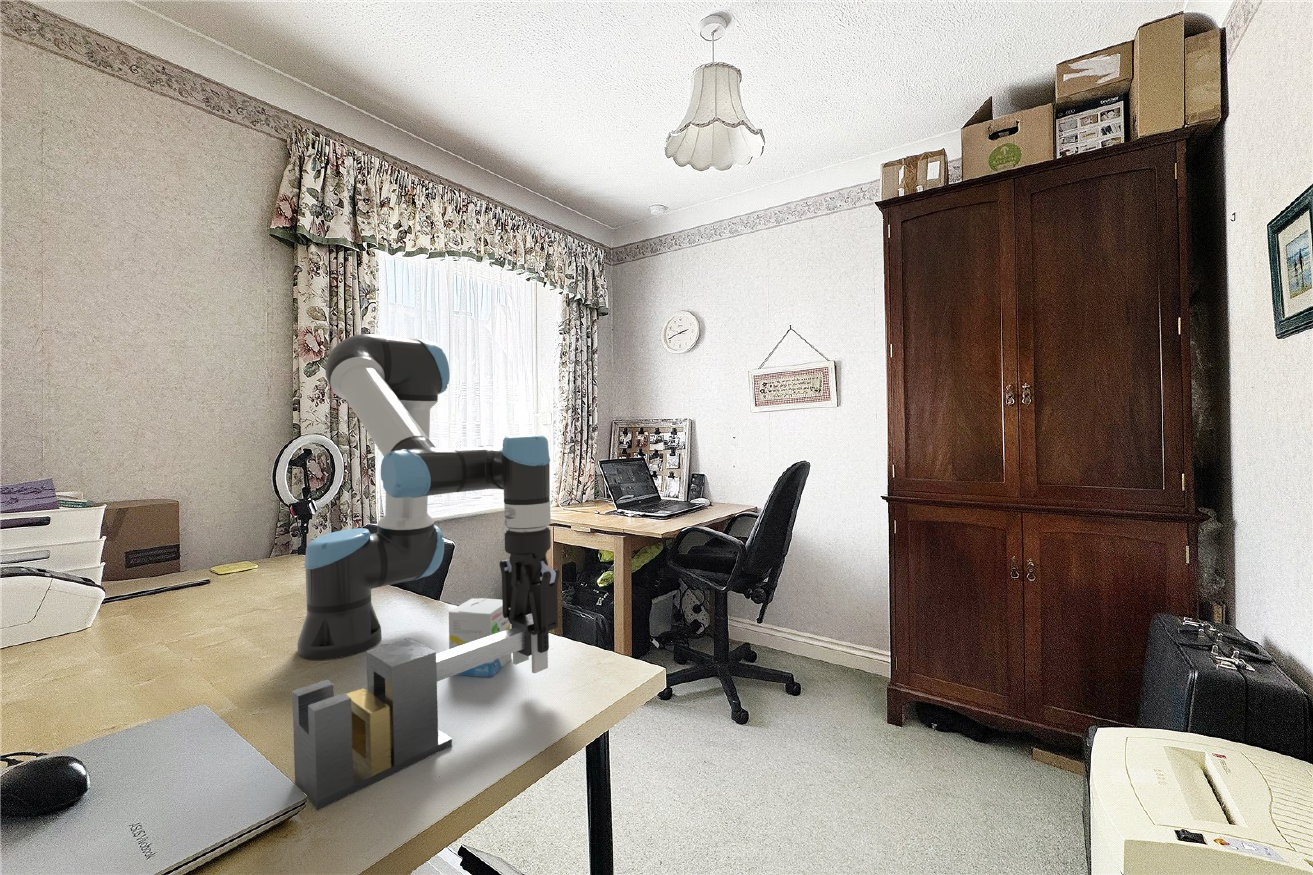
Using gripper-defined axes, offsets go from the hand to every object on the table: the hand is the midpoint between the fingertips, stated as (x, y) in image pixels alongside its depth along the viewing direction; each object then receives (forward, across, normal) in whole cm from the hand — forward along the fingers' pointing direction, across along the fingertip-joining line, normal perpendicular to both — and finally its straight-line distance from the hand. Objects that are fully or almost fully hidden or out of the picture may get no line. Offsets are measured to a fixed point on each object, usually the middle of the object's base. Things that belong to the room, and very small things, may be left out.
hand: (530, 665), depth 93 cm
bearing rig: (+5, 0, -25) cm, 25 cm away
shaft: (-3, 0, -10) cm, 11 cm away
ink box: (+5, -16, +1) cm, 17 cm away
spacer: (+4, 0, -26) cm, 26 cm away
